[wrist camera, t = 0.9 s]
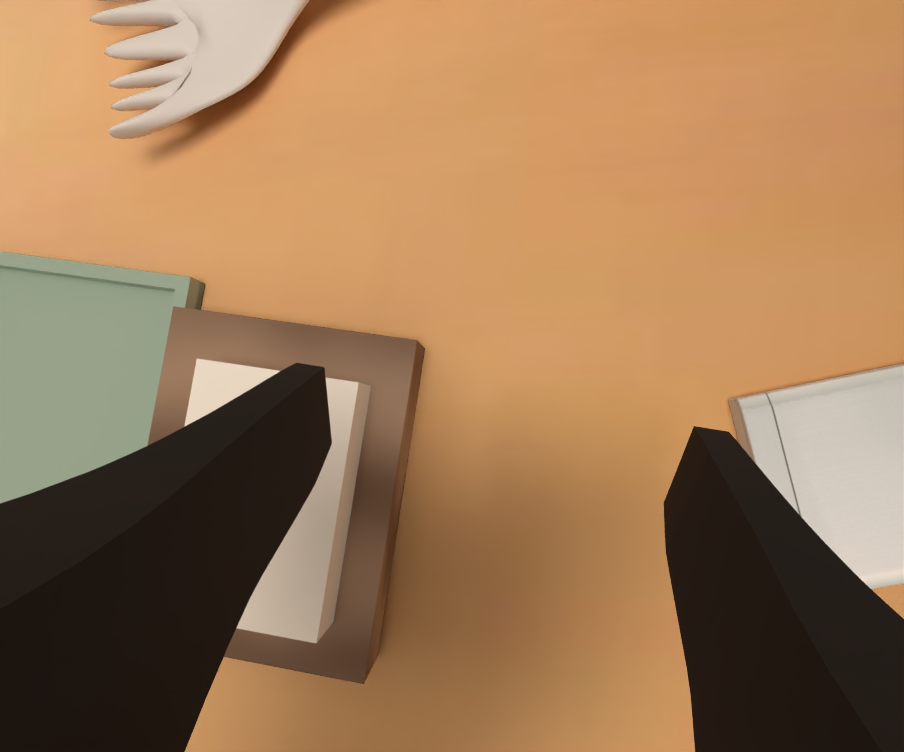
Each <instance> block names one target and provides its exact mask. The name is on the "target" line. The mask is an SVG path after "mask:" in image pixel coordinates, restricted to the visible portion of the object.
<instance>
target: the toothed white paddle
mask: <svg viewBox="0 0 904 752" xmlns="http://www.w3.org/2000/svg"><path fill="white" fill-rule="evenodd" d="M100 1H136V2H141V3H137V4H132V5H127V6H122V7H118V8H114V9H110V10H105V11H101V12H99V13H97V14H94V15H93V16H91V17H90V21H92V22H95V23H97V24H101V25H112V26H163V27H168V28H165V29H161V30H158V31H155V32H151V33H147V34H144V35H140V36H136V37H133V38H130V39H126V40H123V41H120V42H118V43H115V44H113V45H111V46H108V48H107V49H106V50H105V53H104V54H106V55H108V56H109V57H112V58H116V59H123V60H149V61H154V60H176V61H173V62H170V63H167V64H164V65H161V66H157V67H154V68H150V69H146V70H142V71H138V72H135V73H131V74H128V75H124V76H121V77H119V78H117V79H115V80H113V81H111V82H110V84H109V86H112V87H115V88H121V89H134V88H150V87H156V88H153V89H150V90H147V91H144V92H141V93H138V94H135V95H132V96H129V97H127V98H124V99H121V100H119V101H118V102H116V103H114V104H113V105H111V109H115V110H118V111H136V110H148V109H151V110H149V111H147V112H145V113H142V114H140V115H138V116H136V117H133V118H131V119H128V120H126V121H123V122H121V123H119V124H117V125H114V126H113V127H111V128H110V129H109V131H108V132H109V134H110V135H111V136H113V137H115V138H119V139H133V138H139V137H142V136H146V135H149V134H152V133H155V132H157V131H159V130H161V129H163V128H165V127H168V126H170V125H172V124H174V123H177V122H179V121H181V120H183V119H185V118H187V117H189V116H191V115H193V114H195V113H197V112H199V111H200V110H202V109H204V108H206V107H209V106H211V105H213V104H215V103H217V102H219V101H221V100H223V99H225V98H227V97H229V96H231V95H233V94H235V93H236V92H238V91H240V90H241V89H243V88H244V87H246V86H247V85H248V84H250V83H251V82H252V81H253V80H254V79H255V78H256V77H257V76H258V75H259V74H260V73H261V72H262V71H263V70H264V68H265V67H266V66H267V64H268V63H269V62H270V60H271V59H272V57H273V56H274V54H275V53H276V51H277V50H278V48H279V46H280V45H281V43H282V41H283V40H284V38H285V36H286V34H287V33H288V31H289V29H290V28H291V26H292V25H293V23H294V22H295V20H296V19H297V17H298V16H299V14H300V13H301V12H302V10H303V9H304V7H305V6H306V5H307V3H308V2H309V1H310V0H100Z"/></svg>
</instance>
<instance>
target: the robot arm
mask: <svg viewBox="0 0 904 752" xmlns="http://www.w3.org/2000/svg"><path fill="white" fill-rule="evenodd" d="M331 445H332V438H331V428H330V418H329V407H328V397H327V387H326V377H325V367H321V366H315V365H308V364H302V363H295V364H293V365H291V366H289V367H287V368H285V369H283V370H282V371H280V372H278V373H277V374H275V375H273V376H271V377H270V378H268V379H266V380H265V381H263V382H261V383H260V384H258V385H256V386H255V387H253V388H251V389H250V390H248V391H247V392H245V393H243V394H241V395H240V396H238V397H236V398H235V399H233V400H231V401H230V402H228V403H226V404H224V405H223V406H221V407H219V408H218V409H216V410H214V411H212V412H211V413H209V414H207V415H205V416H203V417H201V418H200V419H198V420H196V421H194V422H192V423H190V424H188V425H187V426H185V427H183V428H181V429H179V430H177V431H175V432H173V433H172V434H170V435H168V436H166V437H164V438H162V439H160V440H158V441H156V442H154V443H152V444H150V445H148V446H146V447H144V448H142V449H140V450H137V451H135V452H133V453H131V454H129V455H126V456H124V457H122V458H120V459H117V460H115V461H113V462H110V463H108V464H106V465H104V466H101V467H99V468H96V469H94V470H92V471H89V472H86V473H84V474H81V475H78V476H76V477H73V478H70V479H68V480H65V481H62V482H60V483H57V484H54V485H52V486H49V487H46V488H44V489H41V490H38V491H36V492H33V493H30V494H27V495H24V496H21V497H19V498H15V499H12V500H9V501H6V502H3V503H0V752H185V749H186V747H187V744H188V742H189V739H190V737H191V734H192V732H193V729H194V727H195V724H196V722H197V719H198V717H199V714H200V712H201V709H202V707H203V704H204V702H205V699H206V697H207V694H208V692H209V690H210V687H211V685H212V683H213V680H214V678H215V676H216V673H217V671H218V669H219V666H220V664H221V662H222V659H223V657H224V655H225V652H226V650H227V648H228V645H229V643H230V641H231V639H232V637H233V634H234V632H235V630H236V628H237V626H238V624H239V621H240V619H241V617H242V615H243V613H244V610H245V608H246V606H247V604H248V602H249V600H250V597H251V596H252V594H253V592H254V590H255V588H256V586H257V584H258V582H259V580H260V579H261V577H262V575H263V573H264V572H265V570H266V568H267V566H268V565H269V563H270V561H271V560H272V558H273V556H274V555H275V553H276V551H277V549H278V548H279V546H280V544H281V543H282V541H283V539H284V537H285V536H286V534H287V532H288V531H289V529H290V527H291V526H292V524H293V522H294V520H295V519H296V517H297V515H298V514H299V512H300V510H301V508H302V507H303V505H304V503H305V501H306V500H307V498H308V496H309V494H310V493H311V491H312V489H313V487H314V486H315V483H316V481H317V479H318V476H319V474H320V472H321V469H322V467H323V465H324V462H325V460H326V457H327V455H328V452H329V450H330V447H331ZM664 521H665V542H666V555H667V561H668V567H669V572H670V578H671V584H672V589H673V595H674V600H675V606H676V611H677V617H678V622H679V628H680V633H681V638H682V644H683V649H684V655H685V660H686V666H687V672H688V679H689V686H690V693H691V704H692V716H693V729H694V741H695V752H904V619H903V618H902V617H901V616H900V615H899V614H897V613H896V612H895V611H894V610H893V609H892V608H891V607H890V606H889V605H888V604H886V603H885V602H884V601H883V600H882V599H881V598H880V597H879V596H878V595H877V594H876V593H874V592H873V591H872V590H871V589H870V588H869V587H868V586H867V585H866V584H865V583H864V582H863V581H862V580H861V579H860V578H859V577H858V576H857V575H856V574H855V573H854V572H853V571H852V570H851V569H850V568H849V567H848V566H847V565H846V564H845V563H844V562H843V561H842V560H841V559H840V558H839V557H838V556H837V555H836V554H835V553H834V552H833V550H832V549H831V548H830V547H829V546H828V545H827V544H826V543H825V542H824V541H823V540H822V539H821V538H820V537H819V536H818V535H817V534H816V532H815V531H814V530H813V529H812V528H811V527H810V526H809V525H808V524H807V523H806V522H805V520H804V519H803V518H802V517H801V516H800V515H799V514H798V513H797V511H796V510H795V509H794V508H793V507H792V506H791V505H790V503H789V502H788V501H787V500H786V499H785V498H784V496H783V495H782V494H781V493H780V492H779V491H778V489H777V488H776V487H775V486H774V485H773V484H772V482H771V481H770V480H769V479H768V478H767V476H766V475H765V474H764V473H763V472H762V470H761V469H760V468H759V467H758V466H757V464H756V463H755V462H754V461H753V460H752V458H751V457H750V456H749V455H748V454H747V452H746V451H745V450H744V449H743V448H742V446H741V445H740V444H739V443H738V442H737V441H736V439H735V438H734V437H733V436H732V435H731V434H730V433H729V432H726V431H720V430H714V429H708V428H701V427H695V426H694V428H693V430H692V433H691V435H690V438H689V440H688V443H687V446H686V448H685V451H684V453H683V456H682V458H681V461H680V463H679V466H678V468H677V471H676V473H675V476H674V479H673V481H672V484H671V486H670V489H669V491H668V494H667V496H666V499H665V501H664Z"/></svg>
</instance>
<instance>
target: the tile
mask: <svg viewBox="0 0 904 752" xmlns="http://www.w3.org/2000/svg"><path fill="white" fill-rule="evenodd" d="M278 372H280V371H278V370H271V369H265V368H258V367H251V366H244V365H238V364H231V363H224V362H217V361H211V360H204V359H197V360H196V365H195V371H194V376H193V382H192V387H191V393H190V398H189V404H188V409H187V415H186V420H185V426H187V425H188V424H190V423H192V422H194V421H196V420H198V419H200V418H201V417H203V416H205V415H207V414H209V413H211V412H212V411H214V410H216V409H218V408H219V407H221V406H223V405H224V404H226V403H228V402H230V401H231V400H233V399H235V398H236V397H238V396H240V395H241V394H243V393H245V392H247V391H248V390H250V389H251V388H253V387H255V386H256V385H258V384H260V383H261V382H263V381H265V380H266V379H268V378H270V377H271V376H273V375H275V374H277V373H278ZM326 387H327V397H328V407H329V418H330V428H331V438H332V445H331V447H330V450H329V452H328V455H327V457H326V460H325V462H324V465H323V467H322V469H321V472H320V474H319V476H318V479H317V481H316V483H315V486H314V487H313V489H312V491H311V493H310V494H309V496H308V498H307V500H306V501H305V503H304V505H303V507H302V508H301V510H300V512H299V514H298V515H297V517H296V519H295V520H294V522H293V524H292V526H291V527H290V529H289V531H288V532H287V534H286V536H285V537H284V539H283V541H282V543H281V544H280V546H279V548H278V549H277V551H276V553H275V555H274V556H273V558H272V560H271V561H270V563H269V565H268V566H267V568H266V570H265V572H264V573H263V575H262V577H261V579H260V580H259V582H258V584H257V586H256V588H255V590H254V592H253V594H252V596H251V597H250V600H249V602H248V604H247V606H246V608H245V610H244V613H243V615H242V617H241V619H240V621H239V624H238V626H237V629H243V630H248V631H253V632H259V633H264V634H269V635H274V636H280V637H285V638H290V639H295V640H301V641H306V642H311V643H317V642H318V641H319V640H320V638H321V637H322V636H323V635H324V633H325V632H326V631H327V629H328V628H329V627H330V626H331V624H332V623H333V621H334V615H335V609H336V602H337V596H338V590H339V584H340V577H341V571H342V565H343V559H344V552H345V546H346V540H347V534H348V527H349V521H350V515H351V509H352V502H353V496H354V490H355V484H356V477H357V471H358V465H359V459H360V452H361V446H362V440H363V434H364V427H365V421H366V415H367V409H368V402H369V396H370V390H371V386H370V385H366V384H363V383H359V382H353V381H346V380H339V379H332V378H326ZM185 426H184V427H185Z"/></svg>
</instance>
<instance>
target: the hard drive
mask: <svg viewBox="0 0 904 752" xmlns="http://www.w3.org/2000/svg"><path fill="white" fill-rule="evenodd" d="M728 402H729V406H730V410H731V413H732V417H733V421H734V425H735V429H736V433H737V437H738V441H739V444H740V445H741V446H742V448H743V449H744V450H745V451H746V452H747V454H748V455H749V456H750V457H751V458H752V460H753V461H754V462H755V463H756V464H757V466H758V467H759V468H760V469H761V470H762V472H763V473H764V474H765V475H766V476H767V478H768V479H769V480H770V481H771V482H772V484H773V485H774V486H775V487H776V488H777V489H778V491H779V492H780V493H781V494H782V495H783V496H784V498H785V499H786V500H787V501H788V502H789V503H790V505H791V506H792V507H793V508H794V509H795V510H796V511H797V513H798V514H799V515H800V516H801V517H802V518H803V519H804V520H805V522H806V523H807V524H808V525H809V526H810V527H811V528H812V529H813V530H814V531H815V532H816V534H817V535H818V536H819V537H820V538H821V539H822V540H823V541H824V542H825V543H826V544H827V545H828V546H829V547H830V548H831V549H832V550H833V552H834V553H835V554H836V555H837V556H838V557H839V558H840V559H841V560H842V561H843V562H844V563H845V564H846V565H847V566H848V567H849V568H850V569H851V570H852V571H853V572H854V573H855V574H856V575H857V576H858V577H859V578H860V579H861V580H862V581H863V582H864V583H865V584H866V585H867V586H868V587H869V588H870V589H875V588H881V587H886V586H892V585H898V584H904V363H902V364H897V365H892V366H887V367H882V368H877V369H872V370H868V371H863V372H858V373H853V374H848V375H843V376H839V377H834V378H829V379H824V380H819V381H814V382H809V383H805V384H800V385H795V386H790V387H785V388H780V389H776V390H771V391H766V392H762V393H757V394H751V395H746V396H741V397H737V398H732V399H728Z"/></svg>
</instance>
